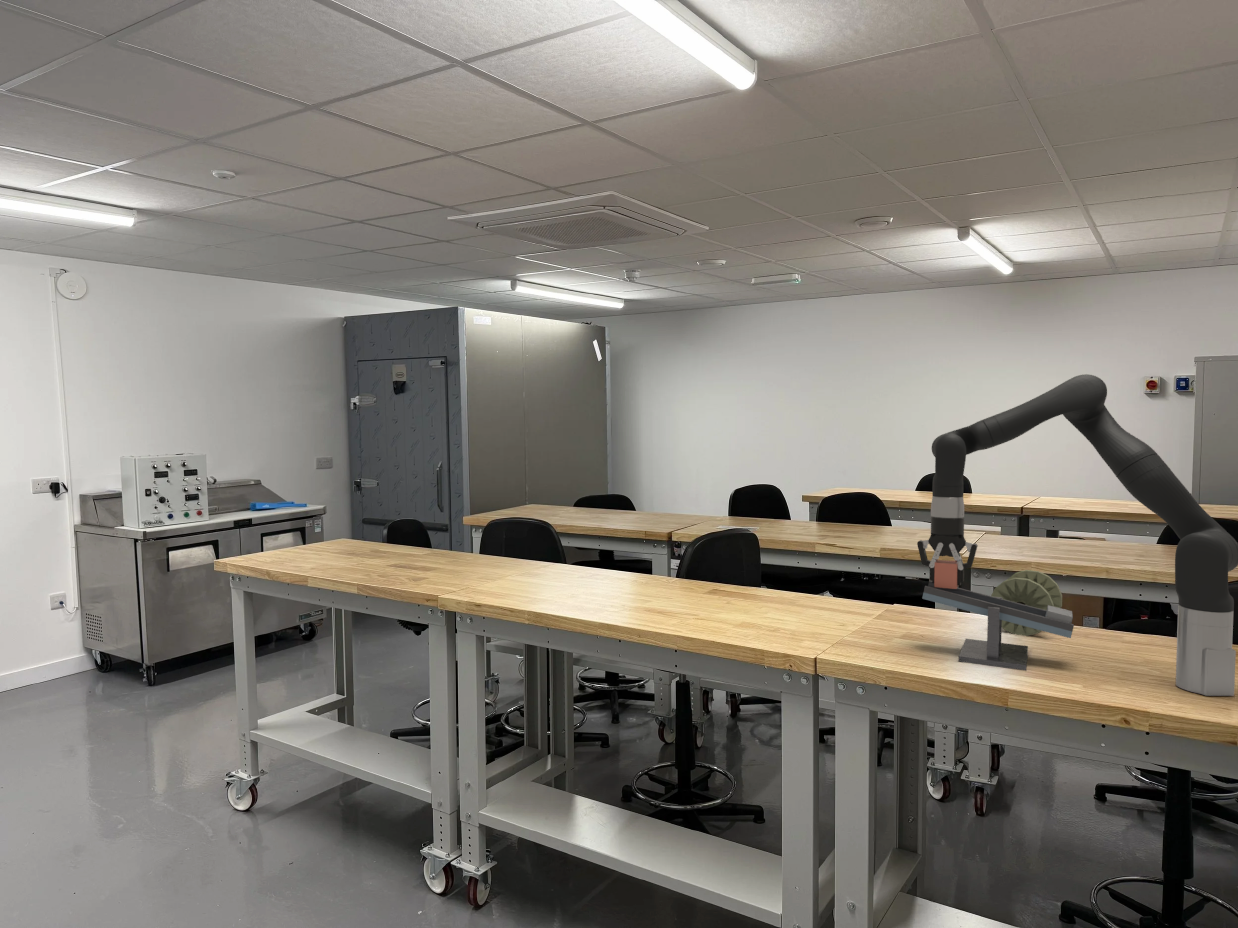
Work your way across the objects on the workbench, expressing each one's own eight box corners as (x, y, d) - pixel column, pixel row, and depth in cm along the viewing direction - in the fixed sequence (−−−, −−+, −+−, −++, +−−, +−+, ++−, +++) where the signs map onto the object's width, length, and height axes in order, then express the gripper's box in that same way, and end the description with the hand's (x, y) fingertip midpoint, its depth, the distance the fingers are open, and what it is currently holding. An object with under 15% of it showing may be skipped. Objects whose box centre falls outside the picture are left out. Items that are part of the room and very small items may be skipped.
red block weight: (958, 585, 191) (958, 561, 191) (956, 588, 187) (956, 564, 187) (936, 583, 194) (937, 559, 194) (934, 587, 189) (934, 562, 189)
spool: (1051, 639, 201) (1053, 582, 200) (989, 630, 210) (990, 575, 209) (1061, 627, 214) (1062, 573, 213) (1002, 619, 223) (1003, 567, 223)
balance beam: (1069, 628, 183) (1074, 609, 182) (1070, 639, 173) (1075, 619, 172) (927, 591, 198) (931, 574, 197) (921, 599, 188) (925, 581, 187)
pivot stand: (1027, 650, 190) (1029, 598, 190) (1026, 670, 174) (1027, 613, 174) (965, 643, 197) (966, 592, 196) (958, 661, 181) (960, 606, 181)
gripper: (980, 515, 190) (979, 583, 190) (918, 512, 196) (917, 578, 197) (978, 517, 183) (977, 589, 184) (914, 514, 190) (913, 583, 191)
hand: (946, 583), depth 190 cm, fingers closed on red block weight, 5 cm apart
